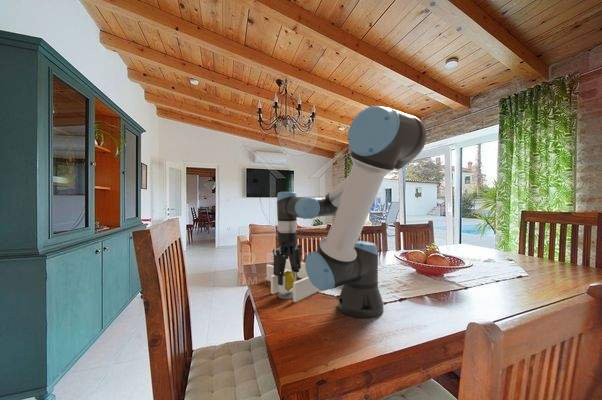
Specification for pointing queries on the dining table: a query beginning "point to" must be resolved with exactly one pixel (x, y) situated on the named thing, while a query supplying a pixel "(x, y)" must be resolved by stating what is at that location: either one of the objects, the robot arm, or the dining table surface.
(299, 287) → the bent lane
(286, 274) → the lemon
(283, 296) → the pad
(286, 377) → the dining table surface
